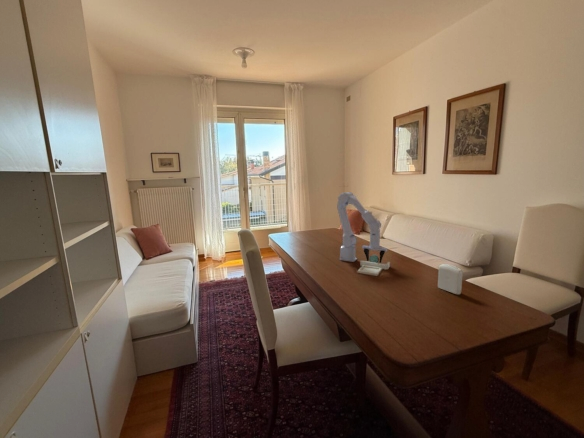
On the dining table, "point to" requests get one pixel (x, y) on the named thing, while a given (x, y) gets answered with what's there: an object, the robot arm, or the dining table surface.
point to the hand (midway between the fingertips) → (374, 261)
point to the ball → (374, 258)
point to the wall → (375, 264)
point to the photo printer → (450, 278)
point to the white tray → (369, 270)
